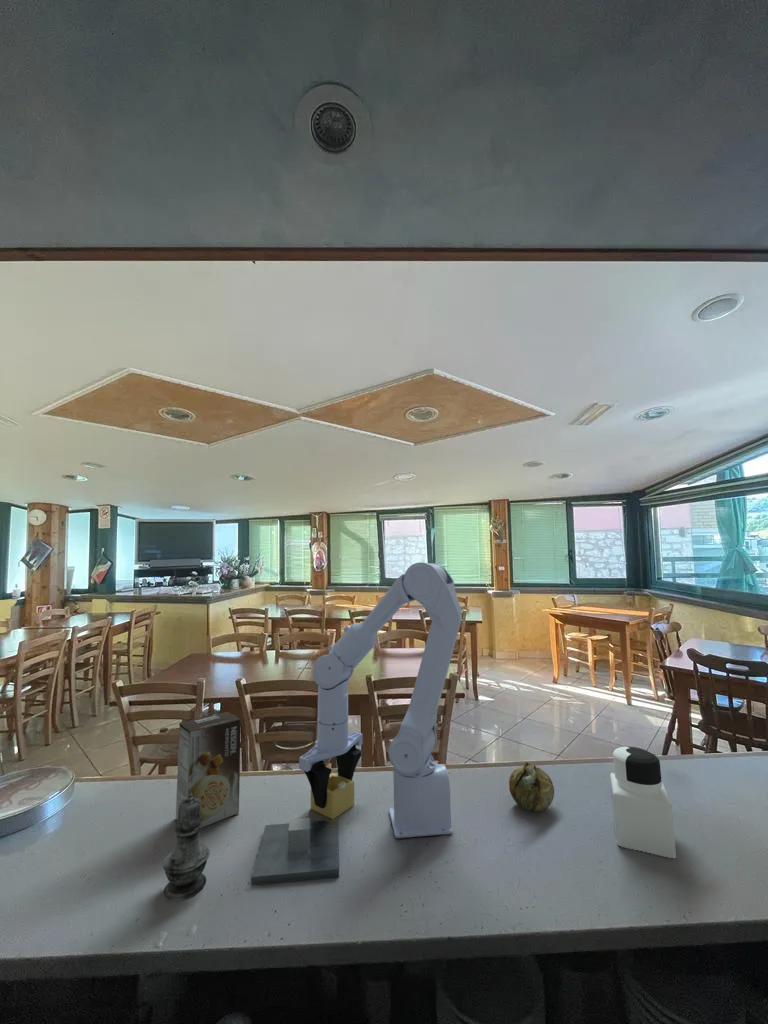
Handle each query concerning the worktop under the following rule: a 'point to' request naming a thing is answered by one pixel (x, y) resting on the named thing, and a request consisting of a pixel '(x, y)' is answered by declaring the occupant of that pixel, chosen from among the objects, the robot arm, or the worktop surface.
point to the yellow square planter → (336, 796)
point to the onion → (531, 788)
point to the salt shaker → (186, 854)
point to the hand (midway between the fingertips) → (332, 798)
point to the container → (641, 803)
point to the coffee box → (210, 765)
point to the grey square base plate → (298, 852)
